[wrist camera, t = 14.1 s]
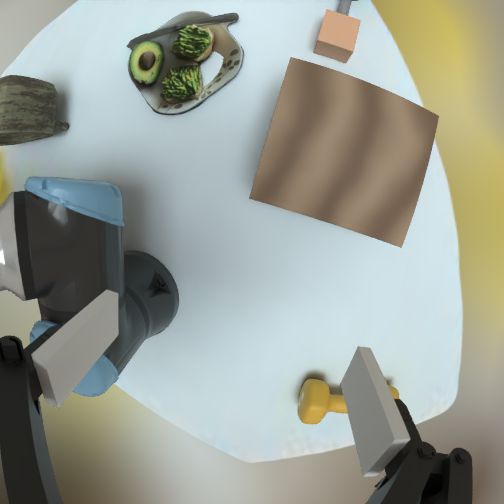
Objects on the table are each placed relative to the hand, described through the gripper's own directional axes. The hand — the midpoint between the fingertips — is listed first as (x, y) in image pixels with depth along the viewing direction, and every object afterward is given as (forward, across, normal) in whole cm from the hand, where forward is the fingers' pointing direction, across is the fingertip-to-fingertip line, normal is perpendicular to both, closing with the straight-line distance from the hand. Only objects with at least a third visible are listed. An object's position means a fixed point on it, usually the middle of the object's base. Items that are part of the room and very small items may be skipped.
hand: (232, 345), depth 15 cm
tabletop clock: (+31, -43, +13) cm, 55 cm away
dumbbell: (+30, +23, -27) cm, 47 cm away
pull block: (+30, +6, +38) cm, 48 cm away
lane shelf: (+30, +8, +13) cm, 33 cm away
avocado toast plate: (+31, -17, +24) cm, 43 cm away
